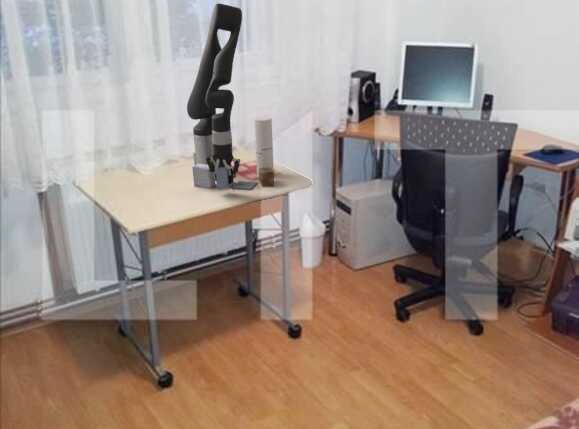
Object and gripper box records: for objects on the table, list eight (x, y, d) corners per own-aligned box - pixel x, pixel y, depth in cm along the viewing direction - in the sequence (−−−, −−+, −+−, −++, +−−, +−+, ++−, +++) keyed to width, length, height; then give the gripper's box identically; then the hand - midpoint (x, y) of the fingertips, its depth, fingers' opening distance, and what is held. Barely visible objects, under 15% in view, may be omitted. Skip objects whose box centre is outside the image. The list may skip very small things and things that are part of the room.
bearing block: (261, 187, 262) (260, 173, 260) (258, 182, 268) (257, 168, 265) (274, 185, 263) (273, 171, 261) (271, 180, 269) (270, 167, 266)
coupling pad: (232, 188, 261) (232, 187, 261) (239, 182, 268) (239, 180, 268) (250, 190, 259) (250, 188, 259) (257, 183, 266) (257, 182, 266)
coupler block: (217, 187, 253) (215, 167, 250) (221, 183, 257) (220, 164, 254) (227, 188, 252) (226, 169, 248) (232, 185, 256) (231, 165, 252)
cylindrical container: (273, 178, 272) (271, 120, 262) (256, 178, 272) (253, 120, 262) (274, 172, 278) (271, 115, 268) (257, 172, 278) (254, 116, 269)
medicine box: (215, 185, 266) (214, 165, 262) (210, 188, 262) (208, 168, 259) (199, 183, 269) (197, 163, 265) (193, 186, 265) (192, 166, 262)
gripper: (201, 142, 246) (203, 184, 253) (235, 145, 242) (237, 188, 249) (209, 137, 252) (211, 177, 259) (243, 139, 248) (244, 181, 255)
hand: (224, 182), depth 254 cm, fingers closed on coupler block, 4 cm apart
